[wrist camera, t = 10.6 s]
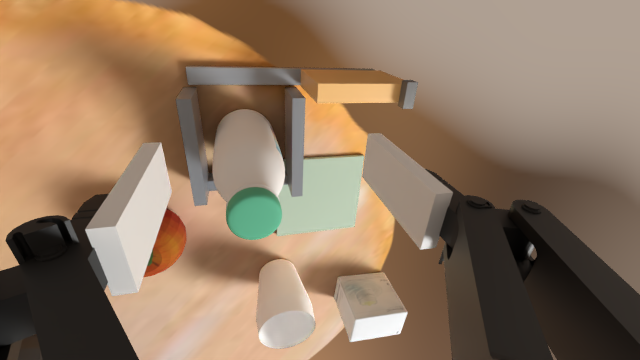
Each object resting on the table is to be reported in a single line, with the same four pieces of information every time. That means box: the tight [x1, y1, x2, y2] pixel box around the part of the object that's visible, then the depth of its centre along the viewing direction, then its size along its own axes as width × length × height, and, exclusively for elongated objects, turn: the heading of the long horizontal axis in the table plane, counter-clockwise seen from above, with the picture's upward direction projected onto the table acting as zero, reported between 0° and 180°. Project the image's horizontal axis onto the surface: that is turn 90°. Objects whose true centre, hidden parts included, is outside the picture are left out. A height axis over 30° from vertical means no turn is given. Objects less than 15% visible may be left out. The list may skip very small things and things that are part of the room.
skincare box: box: [334, 272, 408, 342], centre depth 58 cm, size 10×6×10 cm, turn 82°
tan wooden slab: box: [300, 69, 418, 109], centre depth 35 cm, size 11×3×10 cm, turn 87°
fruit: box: [144, 209, 186, 277], centre depth 40 cm, size 10×10×10 cm
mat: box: [277, 155, 364, 236], centre depth 49 cm, size 14×14×1 cm
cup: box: [256, 259, 315, 349], centre depth 50 cm, size 9×9×12 cm
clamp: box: [176, 66, 374, 206], centre depth 40 cm, size 25×16×6 cm, turn 87°
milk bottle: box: [212, 109, 285, 240], centre depth 33 cm, size 8×8×20 cm
